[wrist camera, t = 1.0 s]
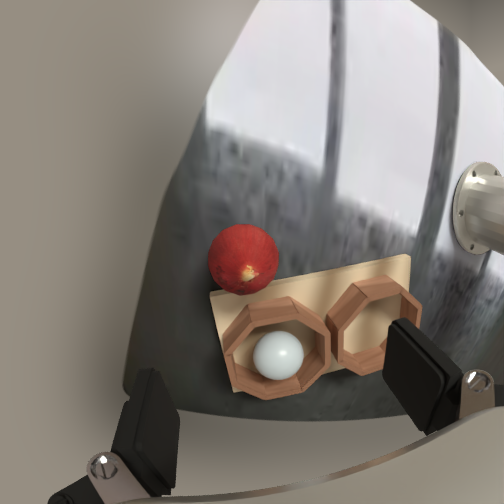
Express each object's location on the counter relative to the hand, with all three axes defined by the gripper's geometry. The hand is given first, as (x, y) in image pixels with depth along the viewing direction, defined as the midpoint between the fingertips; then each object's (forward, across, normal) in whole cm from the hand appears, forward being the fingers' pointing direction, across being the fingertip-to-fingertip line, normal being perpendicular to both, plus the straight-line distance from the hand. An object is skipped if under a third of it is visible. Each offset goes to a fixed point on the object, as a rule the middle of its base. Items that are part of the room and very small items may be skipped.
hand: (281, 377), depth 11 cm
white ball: (+17, -2, +10) cm, 20 cm away
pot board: (+18, -7, +10) cm, 22 cm away
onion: (+18, 0, 0) cm, 18 cm away
